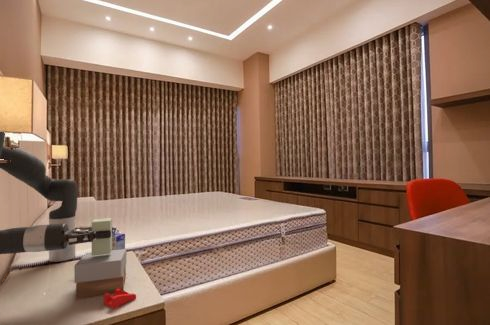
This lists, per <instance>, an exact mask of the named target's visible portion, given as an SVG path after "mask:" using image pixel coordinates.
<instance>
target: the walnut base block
mask: <svg viewBox="0 0 490 325" xmlns="http://www.w3.org/2000/svg"><path fill="white" fill-rule="evenodd" d="M126 269H127V265H126V266H125V269H124V271H123V274H122V276H121V277H119V278H111V279H103V280H95V281H87V282H80V283H75V287H76V288H75V290H76V292H75V293H76V294H75V299H76V301H78V300H83V299H89V298H90V299H92V298H96V297H101V296H103V297H104V294H106V293H109V294H110V295H113V294H114V293H115V289H118V288H119V289H121V290H123V291H125V285H124V284H126V280H127V270H126Z"/></svg>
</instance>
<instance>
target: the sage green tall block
mask: <svg viewBox="0 0 490 325" xmlns="http://www.w3.org/2000/svg"><path fill="white" fill-rule="evenodd" d="M91 226H92V231H106V230H110V231H111V237H110V238H102V239H97V240H93V241H92V242H91V252H92V256H94V255H103V254H110V253H111V251H112V227H113V217H110V218H95V219H93V221H91Z"/></svg>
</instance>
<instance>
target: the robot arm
mask: <svg viewBox="0 0 490 325" xmlns="http://www.w3.org/2000/svg"><path fill="white" fill-rule="evenodd" d="M5 137H6V132H5V133H4V132H0V159H4V160H8V161H9V162H7V163H0V169H1V170H2V171H4V172H6V173H8V174H9V175H11V176H12V177H14V178H16V179H17V180H19V181H21V182H23V183H24V184H26V185H27V186H29V187H31V189H34V190H35V191H36V192H38V193H39V194H40V195H41V196H42V197H43V198H45V199H46V200H48V201H51V202H61V205H60V206H59V207H58V208H56V209H53V210H50V212H49V214H48V224H39V225H31V226H23V227H11V228H7V229H1V230H0V255H6V254H8V255H11V254H22V253H39V252H48V262H53V263H55V262H58V263H59V262H64V261H68V260H72V259H73V258H76V248H77V247H76V245H78V244H85V243H92V241H93V240H97V239H102V238H110V237H111V231H110V230H106V231H92V225H91V226H78V227H76V223H77V221H76V218H77V217H76V215H77V214H76V212H77V209H78V197H79V196H78V195H79V194H78V193H79V191H78V190H79V189H78V183H77V181H76V180H74V179H68V178H67V179H65V178H63V179H62V178H61V179H59V178H58V179H56V178H55V179H54V178H51V177H49V176H48V175H47V174H46V171H47V168H46V165H45V163H44V162H43V161H42V160H41V159H40V158H38V157H37V156H36V155H34V154H33V153H31V152H30V151H28V150H26V149H22V148H19V147H17V148H16V149H12V150H11V149H10V148H6V147H5V144H6V143H5V139H6V138H5ZM11 158H12V159H11ZM10 160H11V162H10ZM113 228H114V227H113V226H112V233H113V232H114V230H113Z"/></svg>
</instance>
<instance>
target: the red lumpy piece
mask: <svg viewBox="0 0 490 325" xmlns="http://www.w3.org/2000/svg"><path fill="white" fill-rule="evenodd" d="M136 299H137V294H136V293H130V292H128V291H125V290H121V289H119V288H118V289H115V293H114V294H109V293H106V294H104V295H103V305H105V306H107V307H109V308H110V309H113V310H115V309H117V308H119V307H120V306H122V305H125V304H126V303H128V302H130V301H134V300H136Z"/></svg>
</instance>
